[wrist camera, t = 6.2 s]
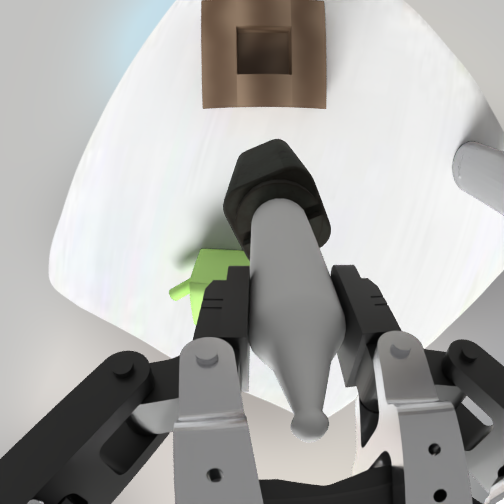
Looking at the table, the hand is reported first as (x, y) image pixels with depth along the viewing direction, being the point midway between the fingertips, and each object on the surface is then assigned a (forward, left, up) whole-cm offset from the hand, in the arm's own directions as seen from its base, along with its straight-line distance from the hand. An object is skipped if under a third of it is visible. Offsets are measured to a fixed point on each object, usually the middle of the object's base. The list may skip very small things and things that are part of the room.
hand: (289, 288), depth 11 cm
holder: (0, -13, -34) cm, 36 cm away
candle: (0, 0, -19) cm, 19 cm away
